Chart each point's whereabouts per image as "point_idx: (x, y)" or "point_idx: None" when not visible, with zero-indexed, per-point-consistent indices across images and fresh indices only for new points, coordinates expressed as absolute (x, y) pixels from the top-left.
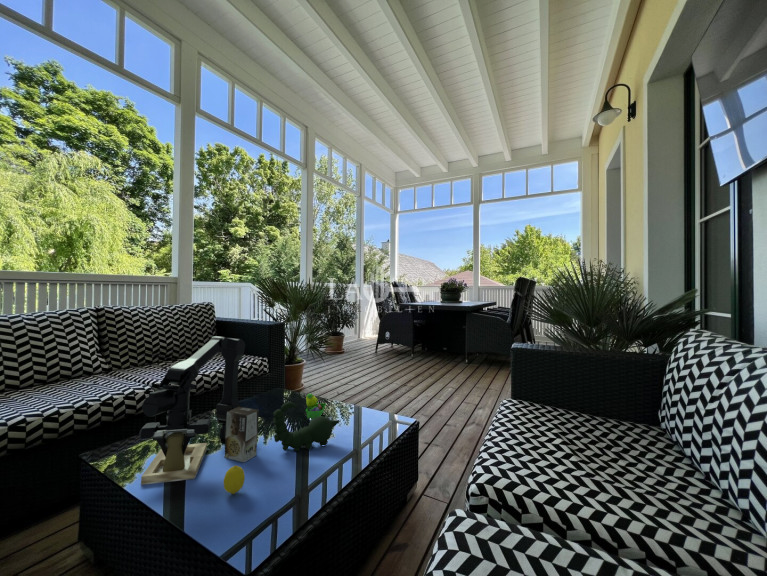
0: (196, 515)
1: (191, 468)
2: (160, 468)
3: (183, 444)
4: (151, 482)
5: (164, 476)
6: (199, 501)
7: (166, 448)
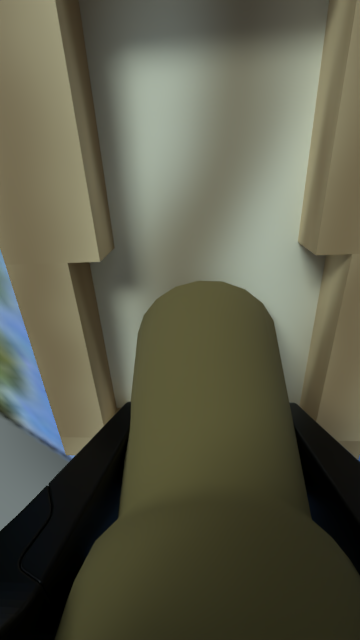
0: None
1: (334, 432)
2: (104, 286)
3: None
4: None
5: None
6: None
7: (118, 512)
